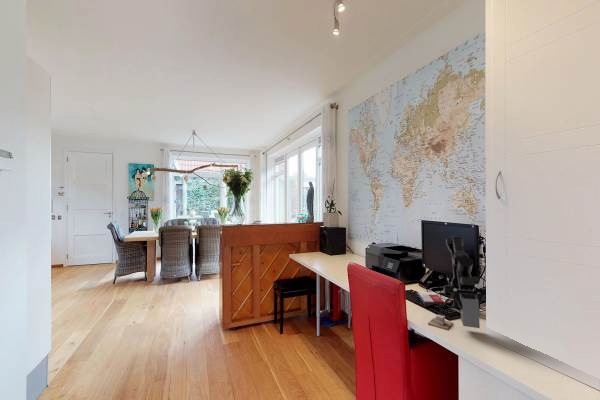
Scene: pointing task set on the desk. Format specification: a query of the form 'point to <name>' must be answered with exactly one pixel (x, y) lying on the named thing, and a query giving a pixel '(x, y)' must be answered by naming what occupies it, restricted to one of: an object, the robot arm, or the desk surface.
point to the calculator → (430, 298)
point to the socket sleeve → (470, 311)
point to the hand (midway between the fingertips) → (470, 310)
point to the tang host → (440, 322)
